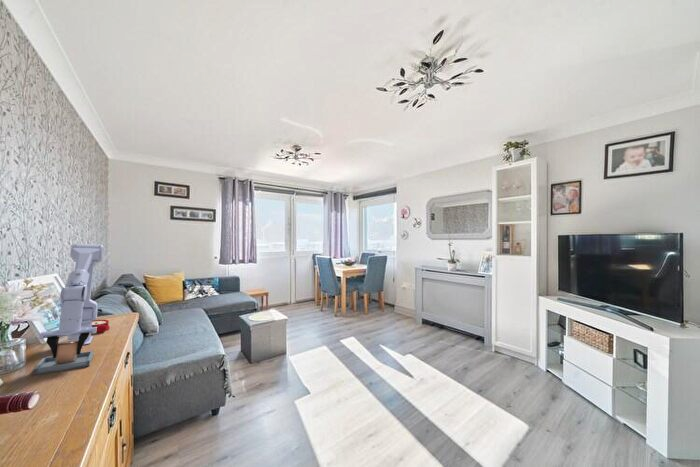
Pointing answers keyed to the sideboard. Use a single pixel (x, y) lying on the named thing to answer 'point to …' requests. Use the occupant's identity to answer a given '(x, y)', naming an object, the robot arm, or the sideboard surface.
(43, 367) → the tray
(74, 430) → the sideboard surface
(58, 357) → the cup
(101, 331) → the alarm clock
